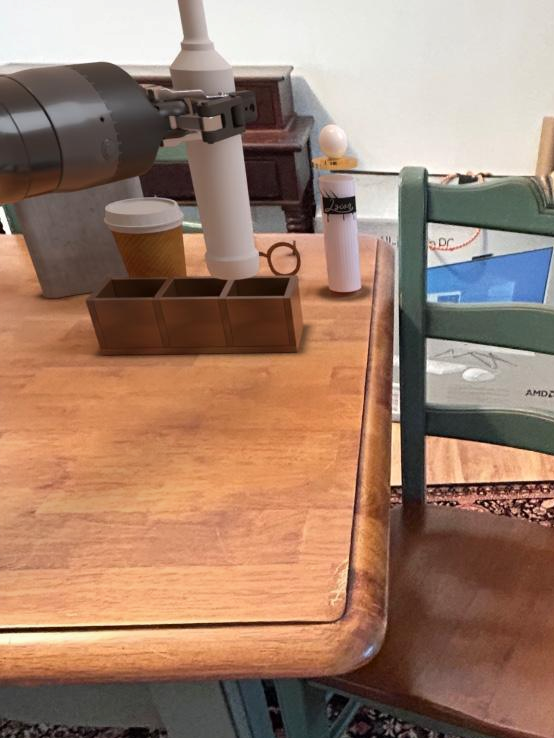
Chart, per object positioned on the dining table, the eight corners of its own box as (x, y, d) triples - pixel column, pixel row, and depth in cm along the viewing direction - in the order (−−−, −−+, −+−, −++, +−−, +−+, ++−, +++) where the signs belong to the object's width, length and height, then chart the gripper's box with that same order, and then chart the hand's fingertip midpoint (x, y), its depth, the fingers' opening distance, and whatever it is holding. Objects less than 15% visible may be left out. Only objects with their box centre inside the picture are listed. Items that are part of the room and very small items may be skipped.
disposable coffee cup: (204, 290, 103) (184, 195, 95) (198, 314, 96) (177, 213, 88) (133, 294, 102) (108, 197, 94) (122, 318, 95) (93, 216, 87)
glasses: (210, 285, 105) (202, 248, 102) (211, 258, 114) (205, 223, 111) (303, 279, 107) (298, 242, 104) (297, 253, 117) (292, 219, 113)
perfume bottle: (323, 286, 105) (306, 121, 92) (363, 284, 106) (352, 120, 93) (326, 300, 101) (309, 128, 87) (368, 297, 101) (357, 127, 88)
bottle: (198, 271, 73) (131, -70, 56) (244, 261, 75) (193, -67, 59) (224, 284, 70) (162, -71, 54) (271, 273, 73) (225, -68, 56)
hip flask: (44, 299, 100) (-16, 126, 87) (43, 290, 103) (-15, 121, 90) (165, 285, 105) (125, 119, 92) (161, 276, 108) (122, 114, 94)
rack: (102, 355, 86) (85, 300, 82) (121, 329, 92) (106, 277, 88) (297, 352, 87) (290, 298, 83) (303, 327, 93) (297, 275, 89)
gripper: (135, 73, 49) (287, 54, 61) (-12, 59, 54) (155, 45, 65) (161, 197, 54) (298, 159, 66) (25, 175, 59) (174, 143, 70)
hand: (226, 102), depth 65 cm, fingers closed on bottle, 5 cm apart
